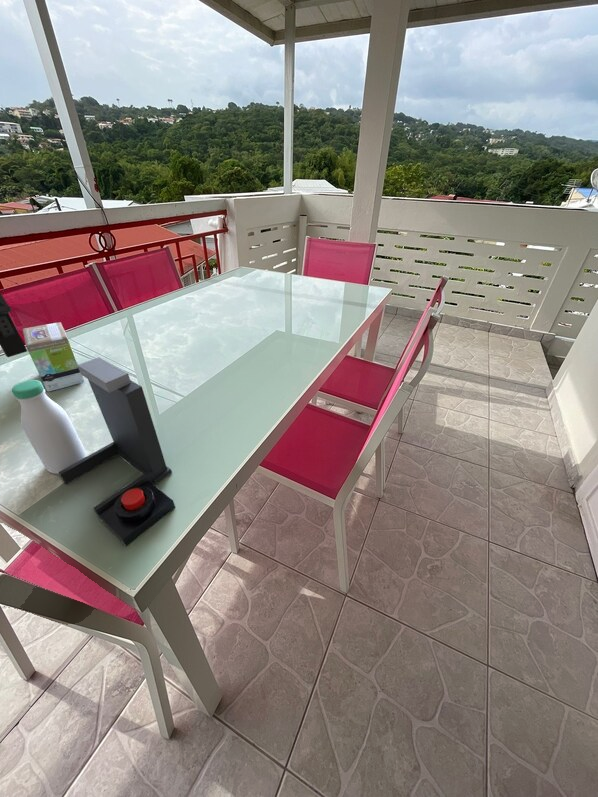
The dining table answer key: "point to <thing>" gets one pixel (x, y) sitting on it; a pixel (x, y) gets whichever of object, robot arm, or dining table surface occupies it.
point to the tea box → (52, 356)
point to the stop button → (133, 499)
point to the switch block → (137, 514)
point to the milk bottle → (48, 427)
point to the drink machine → (121, 429)
